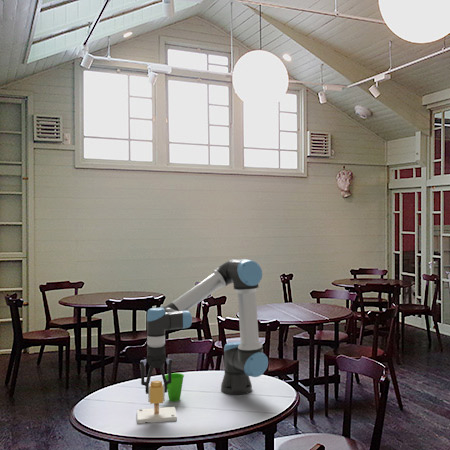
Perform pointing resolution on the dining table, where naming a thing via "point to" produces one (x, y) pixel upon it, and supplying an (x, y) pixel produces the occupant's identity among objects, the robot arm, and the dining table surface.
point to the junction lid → (156, 414)
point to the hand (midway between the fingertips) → (156, 400)
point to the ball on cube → (156, 392)
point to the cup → (175, 386)
